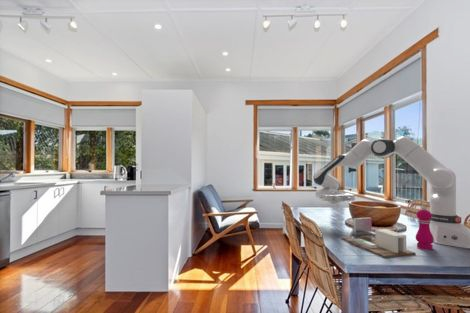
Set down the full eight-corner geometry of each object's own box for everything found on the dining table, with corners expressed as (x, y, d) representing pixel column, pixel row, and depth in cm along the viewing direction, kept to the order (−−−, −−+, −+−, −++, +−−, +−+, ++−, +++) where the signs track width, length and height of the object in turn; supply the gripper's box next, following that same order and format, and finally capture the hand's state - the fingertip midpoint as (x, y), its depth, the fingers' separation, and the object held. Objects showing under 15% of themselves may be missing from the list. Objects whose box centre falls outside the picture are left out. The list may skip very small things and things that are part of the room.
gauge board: (341, 239, 145) (341, 237, 146) (368, 237, 149) (368, 235, 149) (383, 258, 116) (383, 255, 116) (415, 255, 120) (415, 252, 120)
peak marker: (353, 237, 139) (353, 233, 139) (358, 237, 139) (358, 233, 139) (355, 237, 138) (355, 234, 138) (360, 237, 138) (360, 234, 138)
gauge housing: (375, 245, 132) (375, 229, 132) (386, 244, 133) (385, 229, 133) (395, 252, 120) (395, 236, 120) (406, 251, 121) (406, 235, 122)
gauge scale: (351, 240, 140) (351, 237, 140) (356, 239, 141) (356, 236, 141) (371, 248, 126) (371, 245, 127) (376, 247, 127) (376, 244, 127)
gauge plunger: (347, 237, 144) (347, 218, 144) (369, 235, 147) (369, 217, 147) (374, 248, 125) (373, 227, 125) (399, 246, 128) (398, 225, 128)
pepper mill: (412, 245, 134) (411, 205, 134) (425, 245, 134) (424, 205, 135) (423, 250, 127) (422, 208, 127) (437, 250, 127) (436, 207, 128)
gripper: (317, 191, 171) (330, 194, 157) (346, 191, 175) (360, 193, 162) (317, 201, 170) (330, 205, 157) (346, 200, 175) (360, 204, 162)
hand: (345, 199), depth 159 cm, fingers open, 4 cm apart
